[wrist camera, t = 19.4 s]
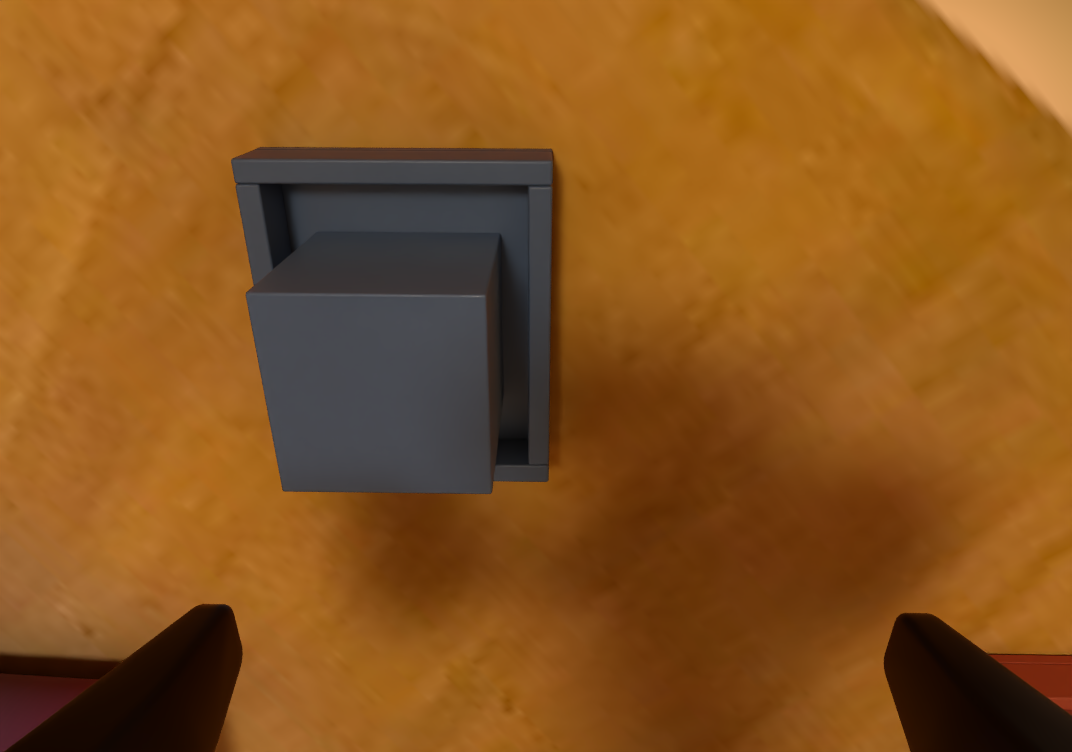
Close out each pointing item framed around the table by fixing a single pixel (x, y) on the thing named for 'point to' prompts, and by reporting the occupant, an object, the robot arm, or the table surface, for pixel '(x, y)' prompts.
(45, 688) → the cup
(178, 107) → the table surface
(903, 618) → the robot arm
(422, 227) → the blue tray
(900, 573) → the table surface
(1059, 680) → the rust tray
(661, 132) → the table surface
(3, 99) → the table surface
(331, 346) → the blue block
